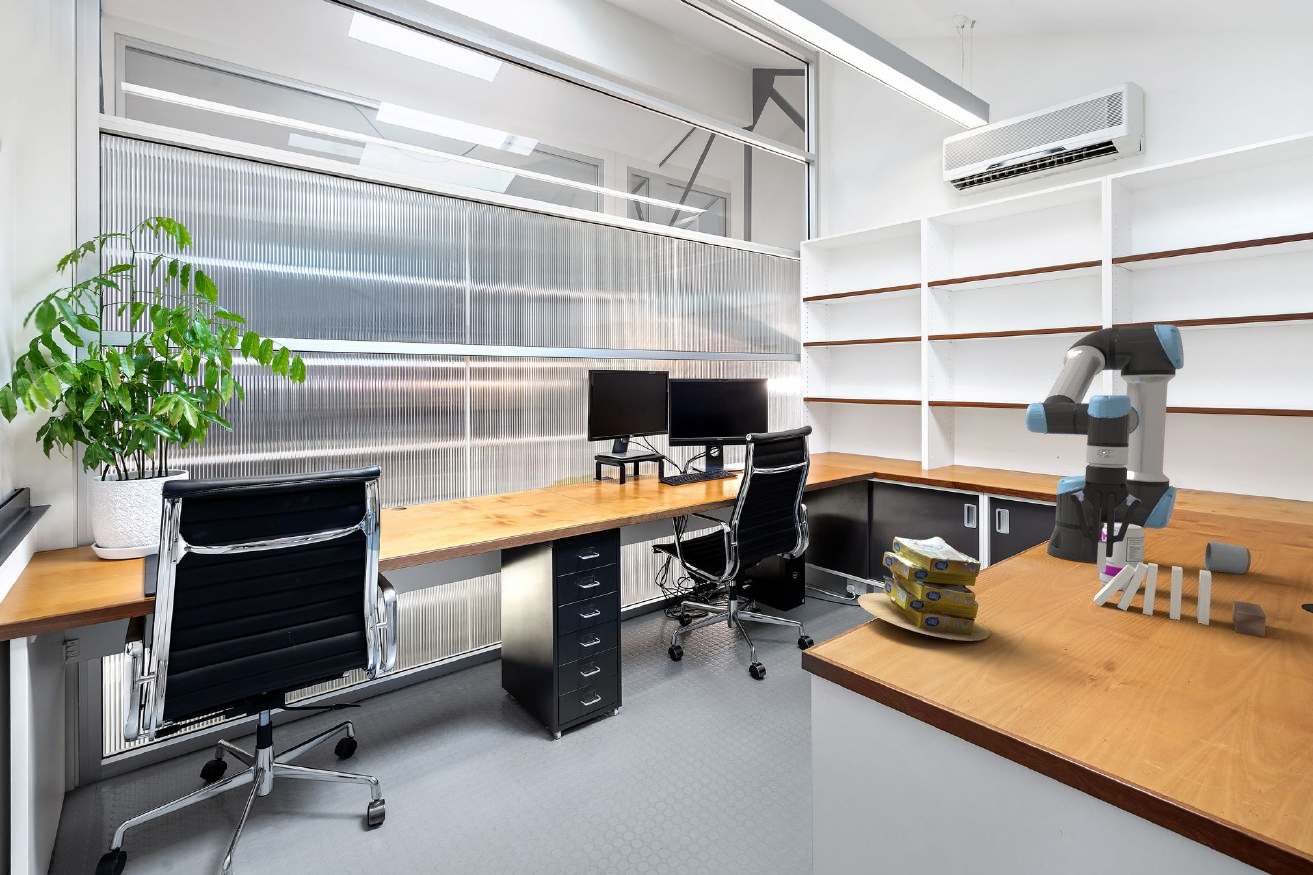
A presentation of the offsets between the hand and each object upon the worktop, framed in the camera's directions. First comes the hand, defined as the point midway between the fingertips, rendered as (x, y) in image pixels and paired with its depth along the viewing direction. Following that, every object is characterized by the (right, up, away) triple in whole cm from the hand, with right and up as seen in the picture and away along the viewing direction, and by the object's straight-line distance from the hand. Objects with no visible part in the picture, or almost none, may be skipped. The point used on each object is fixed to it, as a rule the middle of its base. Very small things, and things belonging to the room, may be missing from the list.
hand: (1101, 570), depth 141 cm
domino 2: (+3, -7, -2) cm, 8 cm away
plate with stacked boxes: (-45, -9, -12) cm, 47 cm away
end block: (+19, -8, -15) cm, 25 cm away
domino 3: (+7, -8, -5) cm, 11 cm away
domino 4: (+10, -8, -7) cm, 15 cm away
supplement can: (+14, -7, +13) cm, 20 cm away
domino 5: (+14, -8, -10) cm, 19 cm away
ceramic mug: (+51, -6, +27) cm, 58 cm away
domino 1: (0, -7, +1) cm, 7 cm away
